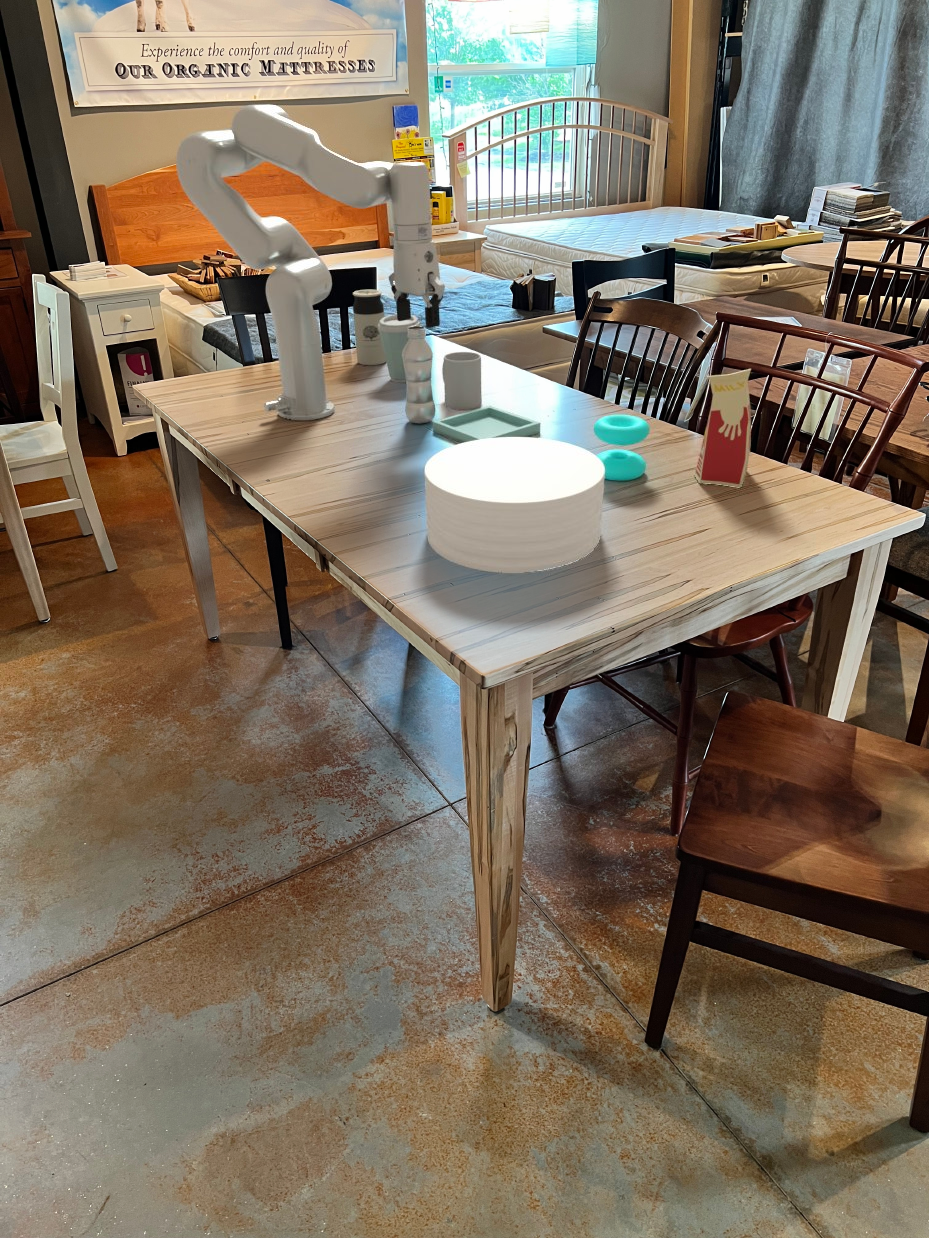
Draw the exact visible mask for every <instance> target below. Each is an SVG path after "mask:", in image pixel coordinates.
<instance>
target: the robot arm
mask: <svg viewBox="0 0 929 1238" xmlns="http://www.w3.org/2000/svg"><path fill="white" fill-rule="evenodd" d="M231 121H232V122H231V126H230V127H229V128H226V129H217V130H202V131H198V132H193V133H191V134H189V135H187V136H186V137H184V139H183V140H182V141H181V142H180V144H179V146H178V148H177V152H176V157H175V159H176V160H175V164H176V173H177V177H178V180H179V183H180V185H181V188H182V190H183V192H184V193H185V194H186V196H187V198H188V199H189V200H190V202H192V204H193V205H194V206H195V207H196V208H197V209H198V211H199V212H200V213H201V214H202V215H203V216H204V217H205V218H206V219H207V221H208V222H209V223H211V225H212V226H213V227H214V229H215V230H216V231H217V233H218V234H219V235H220V236H221V238H222V239H224V241H225V242H226V244H228V245H229V247H230V248H231V249H232V251H234V252H235V254H236V255H237V256H238V258H240V260H241V261H242V262H243V263H244V264H245V265H246V266H247V267H249V268H250V269H253V270H257V271H258V270H264V269H265V270H266V269H268V268H272V267H275V269H273V271H272V272H270V274H269V276H268V278H267V280H266V283H265V296H266V301H267V304H268V307H269V310H270V314H271V317H272V322H273V329H274V336H275V342H276V347H277V348H276V349H277V356H278V357H277V358H278V364H279V373H280V380H281V388H282V389H281V390H282V393H279V394H278V398H276V400H275V401H274V400H273V401H267V402H265V403H264V404H263V406H264V407H263V408H264V410H265V412H267V413H269V412H272V411H276V412H277V413H278V416H280V417H281V418H282V417H284V418H283V419H285V418H287V419H286V420H289V419H291V421H313V420H319V419H323V418H326V417H328V416H331V415H332V414H333V413H334V412H335V411H336V410H335V404H334V403H333V402H331V401H329V400H328V399H327V390H326V380H325V369H324V360H323V352H322V351H323V350H322V342H321V332H320V327H319V323H318V318H317V316H316V313H315V311H314V308H313V306H314V305H316V304H319V303H320V302H322V301H323V300H325V299H326V298H328V296H330V292H331V290H332V286H333V282H332V281H333V280H332V275H331V273H330V270H329V268H328V267H327V265H326V263H325V262H324V261H323V260H322V258H321V257H320V256H319V255H318V253H317V252H316V251H315V250H314V248H313V247H312V246H311V245H310V244H309V243H308V241H307V240H306V239H305V238H304V236H302V234H301V233H300V232H299V231H298V230H297V228H296V227H295V226H294V225H293V224H291V223H290V222H289V221H288V220H286V219H284V218H282V217H279V216H276V215H275V216H274V215H273V216H272V215H270V216H265V217H263V216H260V215H259V214H258V213H257V212H256V211H255V210H254V209H253V208H252V206H250V205H249V203H248V202H247V200H246V199H245V198H244V197H243V196H242V194H240V193H239V192H238V191H237V190H235V188H233V187H232V186H230V185H229V184H228V183H227V182H226V181H225V180H224V178H229V177H234V176H235V177H236V176H238V175H240V174H244V173H246V172H248V171H250V170H252V169H254V168H256V167H258V166H259V165H261V164H263V163H265V162H268V163H269V164H272V165H275V166H277V167H279V168H281V169H282V170H285V171H287V172H290V173H292V174H294V175H297V176H299V177H300V178H301V179H303V181H304V182H305V183H307V184H308V185H309V186H311V187H312V188H313V189H315V190H316V191H318V192H320V193H321V194H323V195H325V196H327V197H329V198H331V199H333V200H335V201H338V202H341V203H342V204H345V205H347V206H350V207H352V208H356V209H367V208H371V207H375V206H379V205H383V204H387V203H391V214H392V228H393V229H392V231H393V243H394V244H393V257H392V258H393V261H392V262H393V273H391V274H390V275H389V276H388V280H389V284H390V286H391V291H392V293H393V299H394V301H395V306H396V307H395V309H396V314H397V320H398V321H404V320H409V319H411V315H412V314H411V311H412V310H411V299H410V298H408V297H409V296H415V297H416V296H417V297H422V300H423V301H424V303H425V305H426V307H424V318H425V328H426V329H427V328H428V329H432V328H436V327H439V326H440V325H441V322H440V321H441V320H440V306H441V305H442V302H441V301H443V298H444V293H445V288H446V286H445V284H444V283H443V282H442V281H441V275H440V265H439V257H438V252H437V248H436V247H437V246H436V244H435V241H434V240H433V229H432V209H431V206H432V205H431V190H430V189H431V187H430V185H431V184H430V173H429V172H430V171H429V170H430V169H429V167H428V166H427V164H426V163H424V162H422V161H421V162H420V161H406V162H405V161H403V162H396V163H393V162H388V161H387V162H386V161H376V160H375V161H366V162H362V163H361V162H360V163H358V162H355V161H353V160H350V159H348V158H345V157H343V156H341V155H339V154H337V153H335V152H333V151H331V150H329V149H328V148H326V147H325V146H324V145H323V144H322V143H321V139H320V135H319V134H318V133H317V132H316V131H315V130H313V129H311V128H309V127H306V126H303V125H301V124H299V123H298V122H295V121H293V120H292V119H291V117H290V115H289V114H288V113H287V112H286V111H285V110H284V109H282V108H281V107H279V106H277V105H275V104H270V103H268V104H248V105H245V106H242V107H241V108H240V109H238V110H237V111H236V113H235V114H234V116H233V118H232V120H231ZM430 297H431V298H430Z"/></svg>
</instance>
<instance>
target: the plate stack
mask: <svg viewBox="0 0 929 1238" xmlns="http://www.w3.org/2000/svg"><path fill="white" fill-rule="evenodd" d="M423 471H424V481H425V483H424V492H425V494H424V495H425V508H426V514H425V515H426V526H427V527H426V532H427V534H426V537H427V542H428V543H429V545H430V547H431V548H432V549H433V551H435V552H436V553H437V554H438V555H439V556H441V557H443V558H444V559H446V560H448V561H449V562H452V563H454V564H456V565H459V566H463V567H466V568H470V569H473V570H478V571H484V572H490V573H498V572H499V573H500V574H501V572H502V574H525V573H524V572H531V571H538V570H544V569H548V568H549V569H550V568H553V567H558V566H562V565H565V564H568V563H570V562H574V561H576V560H578V559H580V558H582V557H584V556H586V555H587V554H588V553H590V552H591V551H592V550H593V549H594V548H595V547H596V546H597V544H598V543H599V544H600V542H599V540H600V541H601V537H600V536H601V535H602V528H601V527H602V522H603V521H602V519H603V507H604V505H603V503H604V501H603V500H604V497H603V496H604V489H605V467H604V464H603V463H602V461H601V460H600V459H599V458H598V457H597V454H594V453H592V452H591V451H589V450H587V449H585V448H583V447H580V446H578V445H574V444H572V443H568V442H565V441H560V440H554V439H548V438H542V437H541V438H539V437H532V436H529V437H498V438H487V439H480V440H474V441H469V442H465V443H461V442H460V443H458V444H455V445H454V444H453V445H452V446H450V447H447V448H444V449H442V450H440V451H438V452H437V453H435V454H434V455H432V456H431V457H430V458H429V459H428V460H427V462H426V463H425V466H424V469H423ZM599 544H598V545H599ZM597 547H598V546H597ZM597 547H596V548H597ZM531 573H532V572H531Z"/></svg>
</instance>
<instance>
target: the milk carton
mask: <svg viewBox="0 0 929 1238" xmlns="http://www.w3.org/2000/svg"><path fill="white" fill-rule="evenodd" d="M751 371H752V368H748V369H744V370H740V371H737V372H732V373H728V374H715V375H707V376H706V378H707V379H708V380H709V382H710V388H711V393H712V400H711V403H710V404H711V406H710V410H709V414H708V419H707V423H706V427H705V431H704V436H703V438H702V444H701V447H700V451H699V455H698V460H697V463H696V468H695V472H694V475H695V476H694V477H696V479H695V480H696V481H697V480H698V481H697V482H698V484H699V483H711V484H721V485H728V486H735V487H742V488H743V485H744V483H745V479H746V477H745V476H747V473H748V466H749V465H748V464H749V459H750V453H751V446H752V445H751V441H752V440H751V439H752V438H751V435H752V433H751V432H752V427H751V426H752V410H751V402H750V400H751V399H750V391H749V384H748V381H749V377H750V373H751ZM746 472H747V473H746ZM743 482H744V483H743ZM742 484H743V485H742Z"/></svg>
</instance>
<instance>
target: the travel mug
mask: <svg viewBox="0 0 929 1238" xmlns="http://www.w3.org/2000/svg"><path fill="white" fill-rule="evenodd" d="M382 294H383V293H382V291H381V290H379V289H360V290H355V291H354V292H352V295H353V296H354V303H353V305H352V311H353V323H354V334H355V335H354V337H355V348H356V350H355V351H356V358H357V359H356V361H357V363H358V364H360V365H362V366H379V365H383V364H385V363H387V362H386V358H385V354H384V349H383V345H382V341H381V336H380V332H379V330H378V329H377V328H378V324H379V321H380V320H381V319H382V318H383V317H385V310H384V309H385V307H384V303H383V301H382V300H381V299H382V298H381V297H382Z"/></svg>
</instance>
